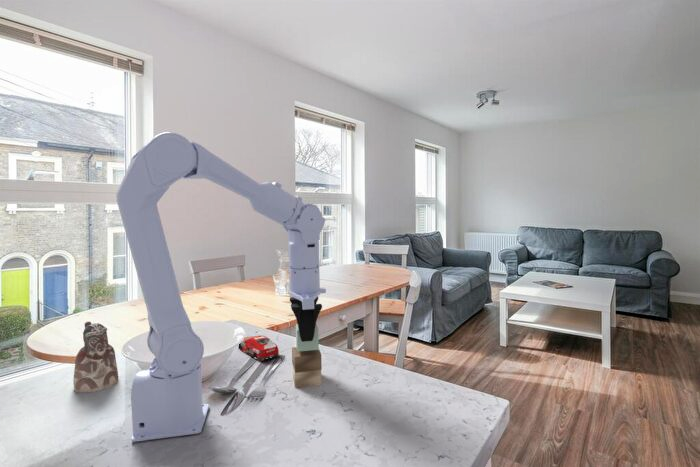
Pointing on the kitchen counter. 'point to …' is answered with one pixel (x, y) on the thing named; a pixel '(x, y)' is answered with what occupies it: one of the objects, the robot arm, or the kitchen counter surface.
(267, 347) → the race car
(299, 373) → the beech base block
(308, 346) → the sage cube
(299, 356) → the walnut top block
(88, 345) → the figurine
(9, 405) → the kitchen counter surface
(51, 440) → the kitchen counter surface
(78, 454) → the kitchen counter surface
